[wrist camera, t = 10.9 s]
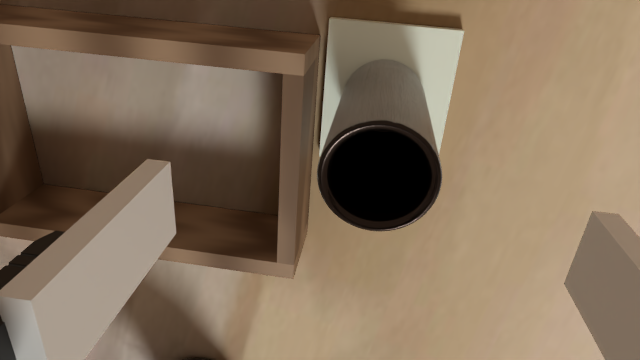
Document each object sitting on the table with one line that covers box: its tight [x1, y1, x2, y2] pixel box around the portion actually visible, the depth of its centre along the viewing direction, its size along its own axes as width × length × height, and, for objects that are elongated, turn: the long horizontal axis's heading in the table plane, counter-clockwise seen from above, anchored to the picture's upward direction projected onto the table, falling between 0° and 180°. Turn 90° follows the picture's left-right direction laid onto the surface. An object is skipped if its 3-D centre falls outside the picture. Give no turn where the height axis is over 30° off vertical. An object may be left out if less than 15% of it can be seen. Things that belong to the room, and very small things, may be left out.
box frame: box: [0, 4, 320, 279], centre depth 27 cm, size 20×13×5 cm, turn 86°
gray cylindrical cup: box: [317, 59, 442, 231], centre depth 21 cm, size 4×4×10 cm
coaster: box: [319, 17, 464, 156], centre depth 26 cm, size 7×8×1 cm
